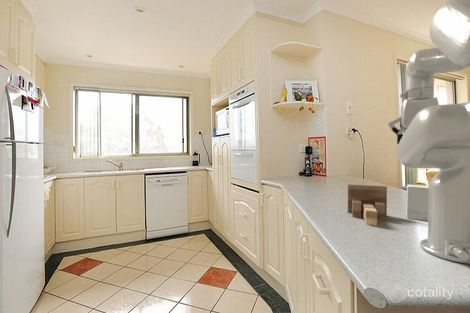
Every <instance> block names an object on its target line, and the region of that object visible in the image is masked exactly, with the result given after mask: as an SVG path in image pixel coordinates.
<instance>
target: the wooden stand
mask: <svg viewBox="0 0 470 313" xmlns="http://www.w3.org/2000/svg"><path fill="white" fill-rule="evenodd" d="M387 198H388V187H387V186H386V185H371V184H369V185H368V184H367V185H366V184H353V183H352V184H350V183H349V184H347V213H348V212H350V213H349V214H351V215H352V218H353V217H354V218H360V219H361V218H362V203H369V204H373V205H374V208H375V209H376V211H377V220H379V221H380V220H381V221H386V217H387V212H388V211H387V210H388V209H387V208H388V204H387V203H388V202H387V201H388V199H387Z"/></svg>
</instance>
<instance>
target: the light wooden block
mask: <svg viewBox="0 0 470 313" xmlns="http://www.w3.org/2000/svg"><path fill="white" fill-rule="evenodd" d="M361 218H363V221H364V224H365V225H366V226H367V225H368V226H376V227H377V226H378V219H377V211H376V209H375V208H374V205H373V204H369V203H362V214H361Z"/></svg>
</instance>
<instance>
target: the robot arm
mask: <svg viewBox="0 0 470 313" xmlns="http://www.w3.org/2000/svg"><path fill="white" fill-rule="evenodd" d="M429 37H430V40H431V42H432V43H433V45H434V46H435V47H432V48H424V49H419V50H417V51H415V52H413V53H412V55H411V56H410V57H409V58H408V62H407V63H406V65H405V92H404V93H400V96H399V97H400V99H401V98H402V99H404V100H403V101H402V105H401V108H400V115H399V116H400V117H399V118H395V119H394V120H392V121H390V122H388V123H387V125H388V126H389V129H390V130H391V131H392V132H393V133H394V134H395V135H396V143H397V150H396V154H397V159H398V161H399V162H400V164H401V165H403V166H404V167H408V168H411V169H413V168H414V169H438V171H437V172H436V173H435V174H434V175H433V177H432V178H431V180H430V182H429V184H428V186H429V205H428V221H427V238H425V239H422V240H421V241H419V242H420V245H419V246H420V248H421V249H422V250H424V251H426V252H427V253H428V254H431V255H434V256H435V257H438V258H441V259H444V260H448V261H451V262H456V263H463V264H468V265H470V100H469V101H464V102H460V103H451V104H439V100H438V97H434V95H435V74H437V75H438V74H446V73H454V72H456V73H457V72H460V71H463V70H465V69H468V68H470V0H447V1H446V2H445V3H443V4H442V5H440V7H439V8H438V9H437V11H436V12H435V13H434V14H433V17H432V18H431V22H430V26H429ZM397 123H399V129H398V128H397V127H396V126H395V125H396V124H397Z"/></svg>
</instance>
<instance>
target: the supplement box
mask: <svg viewBox="0 0 470 313" xmlns="http://www.w3.org/2000/svg"><path fill="white" fill-rule="evenodd" d="M405 203H406V204H405V205H406V210H405V212H406V214H405V216H406V218H407V219H411V220H419V221H424V222H428V205H429V185H421V184H419V185H418V184H406V202H405Z"/></svg>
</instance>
